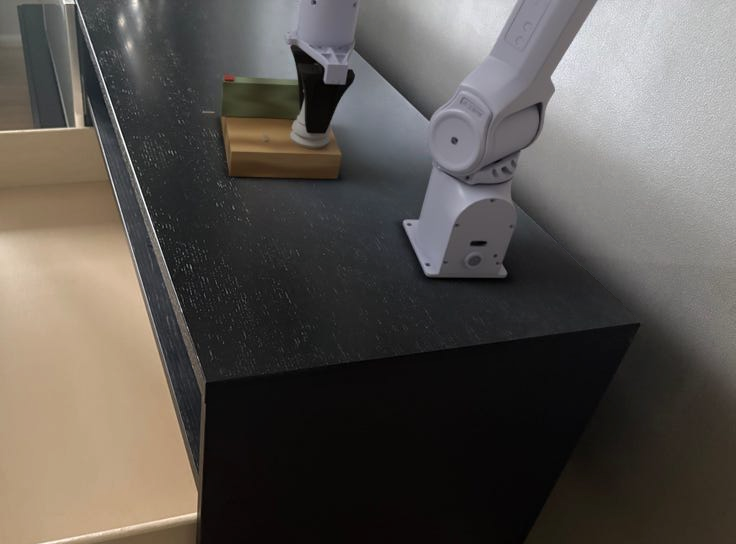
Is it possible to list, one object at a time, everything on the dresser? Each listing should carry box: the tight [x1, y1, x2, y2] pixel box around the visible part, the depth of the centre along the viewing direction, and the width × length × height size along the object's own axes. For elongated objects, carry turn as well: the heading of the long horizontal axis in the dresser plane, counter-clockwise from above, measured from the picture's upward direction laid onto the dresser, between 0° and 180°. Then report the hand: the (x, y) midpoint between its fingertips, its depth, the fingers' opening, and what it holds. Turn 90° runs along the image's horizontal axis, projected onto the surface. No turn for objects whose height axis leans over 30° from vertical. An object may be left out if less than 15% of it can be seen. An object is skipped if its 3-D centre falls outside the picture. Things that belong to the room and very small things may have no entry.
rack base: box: [201, 110, 343, 180], centre depth 87 cm, size 16×15×3 cm
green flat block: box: [219, 74, 300, 119], centre depth 86 cm, size 9×2×4 cm, turn 96°
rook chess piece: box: [290, 90, 332, 149], centre depth 81 cm, size 4×4×8 cm
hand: (312, 123), depth 82 cm, fingers closed on rook chess piece, 3 cm apart
